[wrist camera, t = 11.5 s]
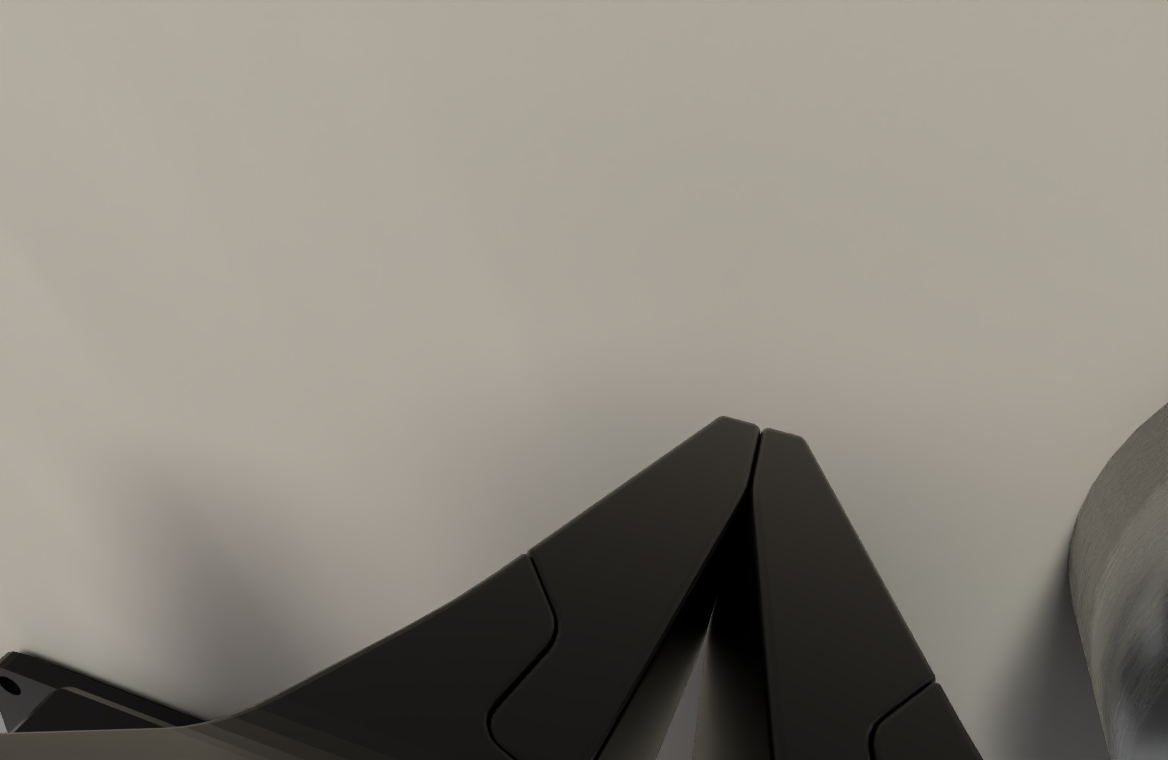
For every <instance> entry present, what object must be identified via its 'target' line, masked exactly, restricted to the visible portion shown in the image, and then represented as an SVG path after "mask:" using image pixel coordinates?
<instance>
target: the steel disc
mask: <svg viewBox="0 0 1168 760" xmlns="http://www.w3.org/2000/svg"><path fill="white" fill-rule="evenodd" d="M1068 576H1069V585H1070V595H1071V601H1072V605H1073V609H1074V613H1075V617H1076V621H1077V625H1078V630H1079V634H1080V638H1081V642H1082V646H1083V650H1084V654H1085V658H1086V662H1087V667H1088V671H1089V675H1090V679H1091V683H1092V687H1093V691H1094V695H1095V699H1096V703H1097V708H1098V712H1099V716H1100V720H1101V724H1102V728H1103V732H1104V736H1105V740H1106V744H1107V749H1108V753H1109V757H1110V760H1168V403H1167V404H1166V405H1164V406H1163V407H1162V408H1161V409H1160V410H1159V411H1157V412H1156V413H1155V414H1154V415H1153V416H1152V417H1150V418H1149V419H1148V420H1147V421H1146V422H1145V423H1144V424H1142V425H1141V426H1140V427H1139V428H1138V429H1137V430H1136V431H1135V432H1134V433H1133V434H1132V435H1131V436H1130V437H1129V438H1128V439H1127V441H1126V442H1125V443H1124V444H1123V445H1122V446H1121V447H1120V448H1119V449H1118V451H1117V452H1116V453H1115V454H1114V455H1113V456H1112V457H1111V458H1110V460H1109V461H1108V463H1107V464H1106V466H1105V467H1104V469H1103V470H1102V472H1101V473H1100V475H1099V476H1098V478H1097V479H1096V481H1095V482H1094V484H1093V485H1092V487H1091V489H1090V491H1089V493H1088V495H1087V497H1086V499H1085V502H1084V504H1083V506H1082V508H1081V510H1080V512H1079V514H1078V518H1077V521H1076V525H1075V529H1074V532H1073V536H1072V539H1071V543H1070V554H1069V566H1068Z"/></svg>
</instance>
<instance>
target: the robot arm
mask: <svg viewBox="0 0 1168 760" xmlns="http://www.w3.org/2000/svg"><path fill="white" fill-rule="evenodd" d="M714 604H715V605H714ZM713 608H714V609H713ZM712 611H713V613H712ZM711 614H712V617H711ZM710 618H711V621H710ZM709 621H710V626H709V630H708V635H707V641H706V648H705V655H704V662H703V671H702V680H701V689H700V698H699V707H698V716H697V725H696V734H695V743H694V751H693V760H983V759H982V757H981V755H980V754H979V752H978V750H977V748H976V747H975V745H974V743H973V742H972V740H971V738H970V737H969V735H968V733H967V732H966V730H965V728H964V726H963V725H962V723H961V721H960V720H959V718H958V716H957V714H956V712H955V711H954V709H953V707H952V705H951V703H950V702H949V700H948V698H947V696H946V694H945V692H944V691H943V689H942V687H941V685H940V684H938V683H935V681H936V678H935V675H934V673H933V671H932V670H931V668H930V666H929V664H928V662H927V660H926V659H925V657H924V655H923V653H922V651H921V650H920V648H919V646H918V644H917V642H916V641H915V639H914V637H913V635H912V633H911V631H910V630H909V628H908V626H907V624H906V622H905V621H904V619H903V617H902V615H901V613H900V611H899V610H898V608H897V606H896V604H895V602H894V601H893V599H892V597H891V595H890V593H889V591H888V590H887V588H886V586H885V584H884V582H883V581H882V579H881V577H880V575H879V573H878V571H877V570H876V568H875V566H874V564H873V562H872V561H871V559H870V557H869V555H868V553H867V551H866V550H865V548H864V546H863V544H862V542H861V541H860V539H859V537H858V535H857V533H856V531H855V530H854V528H853V526H852V524H851V522H850V521H849V519H848V517H847V515H846V513H845V511H844V510H843V508H842V506H841V504H840V502H839V501H838V499H837V497H836V495H835V493H834V491H833V490H832V488H831V486H830V484H829V482H828V481H827V479H826V477H825V475H824V473H823V471H822V470H821V468H820V466H819V464H818V462H817V461H816V459H815V457H814V455H813V453H812V451H811V450H810V448H809V446H808V444H807V442H806V441H805V440H804V439H803V438H802V437H800V436H797V435H793V434H789V433H786V432H782V431H778V430H775V429H771V428H767V429H764V430H763V431H762V432H761V434H760V429H759V427H758V426H757V425H755V424H752V423H749V422H745V421H741V420H738V419H734V418H730V417H727V416H721V417H719V418H717V419H716V420H714V421H713V422H711V423H710V424H708V425H707V426H706V427H704V428H703V429H701V430H700V431H698V432H697V433H696V434H694V435H693V436H691V437H690V438H688V439H687V440H685V441H684V442H683V443H681V444H680V445H678V446H677V447H675V448H674V449H673V450H671V451H670V452H668V453H667V454H665V455H664V456H663V457H661V458H660V459H658V460H657V461H655V462H654V463H653V464H651V465H650V466H648V467H647V468H645V469H644V470H643V471H641V472H640V473H638V474H637V475H635V476H634V477H633V478H631V479H630V480H628V481H627V482H625V483H624V484H623V485H621V486H620V487H618V488H617V489H615V490H614V491H613V492H611V493H610V494H608V495H607V496H605V497H604V498H603V499H601V500H600V501H598V502H597V503H595V504H594V505H593V506H591V507H590V508H588V509H587V510H585V511H584V512H583V513H581V514H580V515H578V516H577V517H575V518H574V519H573V520H571V521H570V522H568V523H567V524H565V525H564V526H563V527H561V528H560V529H558V530H557V531H555V532H554V533H552V534H551V535H550V536H548V537H547V538H545V539H544V540H542V541H541V542H540V543H538V544H537V545H535V546H534V547H532V548H531V549H530V550H528V552H527V554H522V555H520V556H519V557H517V558H516V559H515V560H513V561H512V562H510V563H509V564H508V565H506V566H505V567H503V568H502V569H500V570H499V571H498V572H496V573H494V574H493V575H491V576H490V577H488V578H487V579H485V580H484V581H482V582H481V583H479V584H477V585H476V586H474V587H473V588H471V589H470V590H468V591H467V592H465V593H464V594H462V595H460V596H459V597H457V598H456V599H454V600H452V601H451V602H449V603H447V604H445V605H443V606H442V607H440V608H438V609H436V610H435V611H433V612H431V613H429V614H427V615H426V616H424V617H422V618H420V619H419V620H417V621H415V622H413V623H411V624H410V625H408V626H406V627H404V628H402V629H400V630H399V631H397V632H395V633H393V634H391V635H389V636H387V637H385V638H383V639H381V640H379V641H378V642H376V643H374V644H372V645H370V646H368V647H366V648H364V649H362V650H360V651H358V652H357V653H355V654H353V655H351V656H349V657H347V658H345V659H343V660H341V661H339V662H338V663H336V664H334V665H332V666H330V667H328V668H326V669H324V670H322V671H320V672H318V673H317V674H315V675H313V676H311V677H309V678H307V679H305V680H303V681H301V682H299V683H297V684H296V685H294V686H292V687H290V688H288V689H286V690H284V691H282V692H280V693H278V694H276V695H274V696H272V697H270V698H268V699H266V700H264V701H262V702H260V703H258V704H256V705H253V706H251V707H249V708H246V709H243V710H241V711H238V712H236V713H233V714H230V715H228V716H225V717H221V718H218V719H214V720H211V721H207V722H202V721H199V720H196V719H194V718H191V717H189V716H186V715H183V714H181V713H178V712H175V711H173V710H170V709H167V708H165V707H162V706H159V705H157V704H154V703H152V702H149V701H146V700H144V699H141V698H138V697H136V696H133V695H130V694H128V693H125V692H122V691H120V690H117V689H114V688H112V687H109V686H107V685H104V684H101V683H99V682H96V681H93V680H91V679H88V678H85V677H83V676H80V675H77V674H75V673H72V672H70V671H67V670H64V669H62V668H59V667H56V666H54V665H51V664H48V663H46V662H43V661H40V660H38V659H35V658H33V657H30V656H27V655H25V654H22V653H18V652H14V651H13V652H8V653H6V654H5V655H4V656H3V657H2V658H1V659H0V712H1V715H2V718H3V720H4V723H5V726H6V729H7V732H8V733H0V760H655V759H656V757H657V754H658V752H659V749H660V747H661V745H662V742H663V740H664V737H665V735H666V732H667V730H668V727H669V725H670V723H671V720H672V718H673V715H674V713H675V710H676V708H677V706H678V703H679V701H680V698H681V696H682V693H683V691H684V688H685V686H686V684H687V681H688V679H689V676H690V674H691V671H692V669H693V667H694V664H695V662H696V659H697V657H698V654H699V651H700V649H701V646H702V643H703V641H704V638H705V635H706V631H707V628H708V625H709Z"/></svg>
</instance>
